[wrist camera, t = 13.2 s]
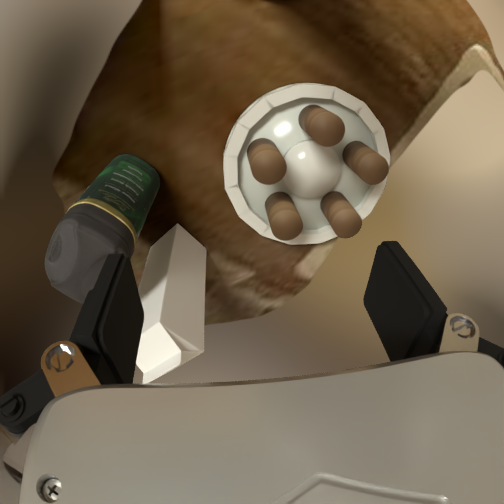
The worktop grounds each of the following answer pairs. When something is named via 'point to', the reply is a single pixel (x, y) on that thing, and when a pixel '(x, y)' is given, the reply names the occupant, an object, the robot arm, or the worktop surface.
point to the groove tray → (302, 158)
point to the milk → (172, 303)
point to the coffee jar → (101, 225)
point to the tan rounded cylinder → (321, 125)
